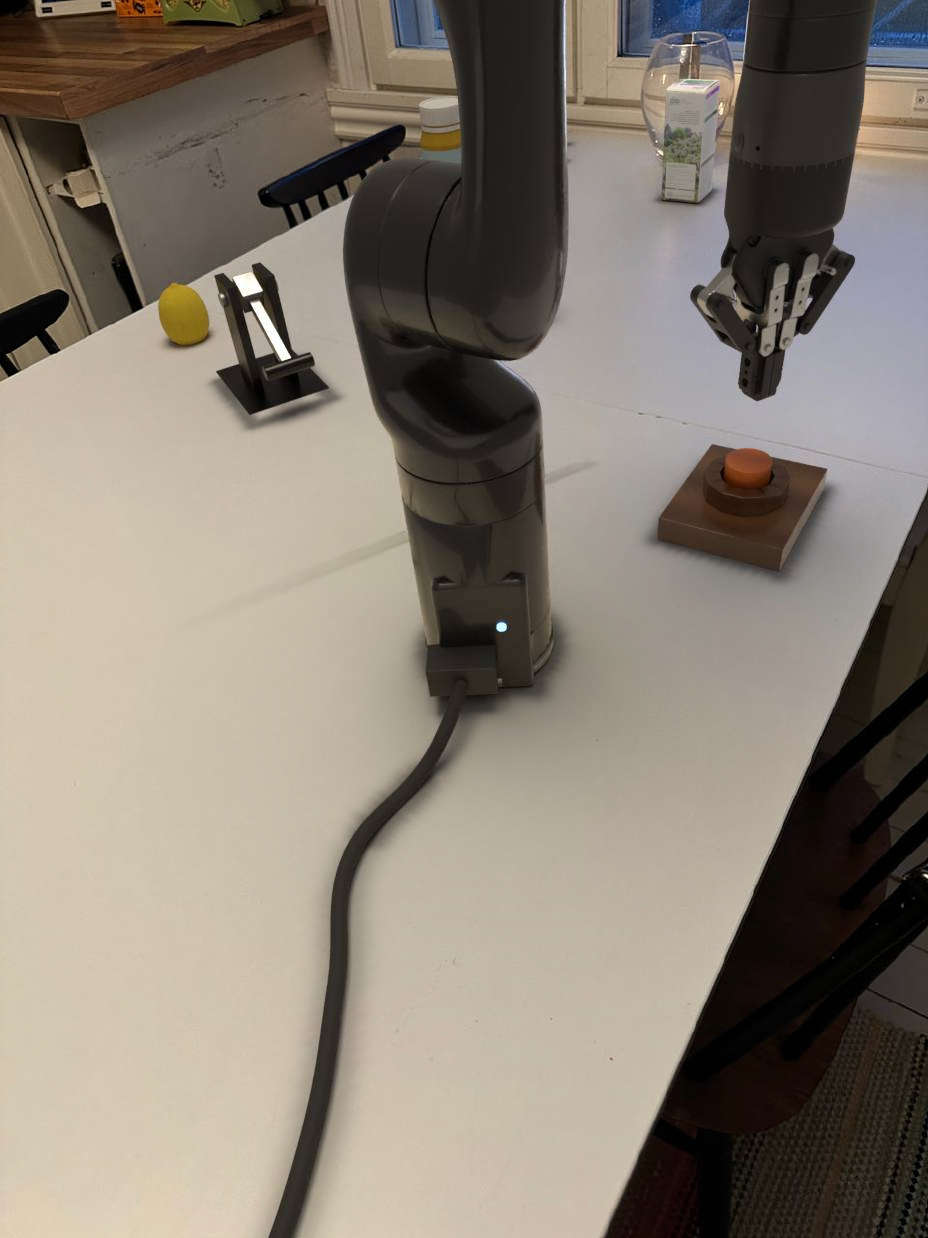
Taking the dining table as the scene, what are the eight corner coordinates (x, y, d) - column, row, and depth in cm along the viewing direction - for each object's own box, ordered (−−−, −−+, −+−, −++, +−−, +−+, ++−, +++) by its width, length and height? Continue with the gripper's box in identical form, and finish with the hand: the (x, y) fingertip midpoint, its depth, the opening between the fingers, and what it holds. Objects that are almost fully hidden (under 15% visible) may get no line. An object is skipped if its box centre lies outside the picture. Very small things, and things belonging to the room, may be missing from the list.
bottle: (422, 223, 136) (408, 109, 125) (437, 205, 140) (425, 95, 130) (468, 223, 134) (457, 108, 124) (481, 206, 138) (472, 94, 128)
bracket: (332, 398, 99) (306, 280, 90) (252, 425, 96) (219, 307, 88) (292, 357, 107) (266, 246, 98) (218, 381, 104) (184, 269, 96)
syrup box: (713, 190, 134) (722, 77, 124) (697, 204, 130) (705, 89, 121) (675, 187, 136) (681, 76, 127) (659, 200, 133) (664, 87, 123)
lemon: (161, 355, 111) (139, 290, 105) (191, 335, 114) (171, 271, 109) (196, 361, 109) (176, 295, 103) (226, 341, 112) (207, 276, 107)
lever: (315, 372, 93) (315, 356, 91) (268, 387, 91) (267, 371, 89) (266, 283, 96) (265, 266, 94) (221, 297, 95) (218, 280, 93)
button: (761, 495, 73) (763, 476, 72) (716, 484, 74) (718, 466, 73) (775, 471, 75) (778, 453, 74) (732, 462, 77) (734, 443, 75)
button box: (778, 572, 71) (786, 530, 69) (656, 539, 76) (659, 499, 73) (823, 490, 79) (831, 449, 76) (709, 464, 83) (713, 425, 80)
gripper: (749, 179, 53) (719, 442, 65) (918, 132, 57) (862, 388, 69) (669, 152, 58) (654, 400, 70) (829, 111, 62) (791, 352, 74)
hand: (757, 394), depth 69 cm, fingers closed
